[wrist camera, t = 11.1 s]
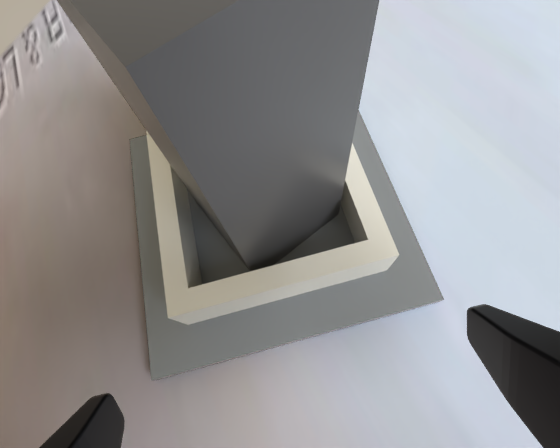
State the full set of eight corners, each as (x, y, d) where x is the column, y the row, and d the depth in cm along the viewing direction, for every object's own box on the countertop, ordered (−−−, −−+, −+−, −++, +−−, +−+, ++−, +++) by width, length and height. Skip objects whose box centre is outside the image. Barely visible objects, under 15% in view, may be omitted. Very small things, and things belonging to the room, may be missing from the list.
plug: (338, 214, 18) (396, -93, 6) (255, 279, 17) (125, 67, 5) (275, 149, 20) (222, -181, 8) (197, 203, 19) (1, -80, 7)
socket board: (439, 301, 16) (466, 287, 13) (156, 379, 16) (123, 382, 13) (345, 90, 22) (350, 49, 19) (134, 145, 22) (107, 111, 19)
